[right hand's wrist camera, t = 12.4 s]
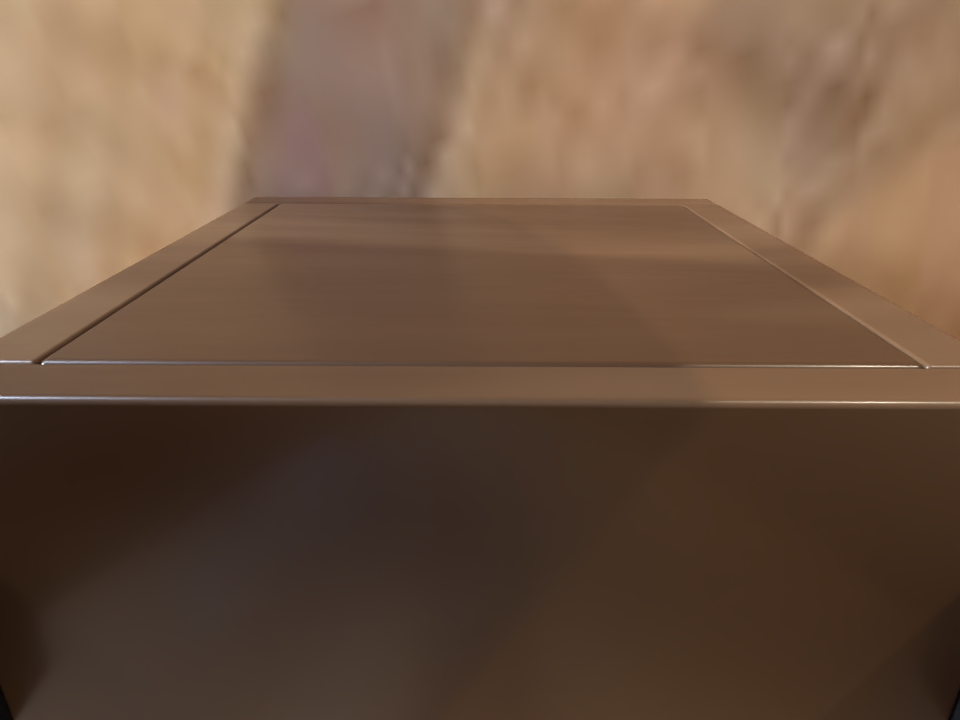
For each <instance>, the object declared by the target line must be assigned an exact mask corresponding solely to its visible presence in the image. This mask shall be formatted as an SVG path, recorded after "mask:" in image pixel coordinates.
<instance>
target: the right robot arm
mask: <svg viewBox="0 0 960 720" xmlns="http://www.w3.org/2000/svg"><path fill="white" fill-rule="evenodd" d="M0 720H12V718H11V716H10V713H9V710H8V707H7V705H6V702H5V699H4V697H3V694H2V691H1V689H0ZM949 720H960V693H959V695H958V698H957V700H956V703H955V706H954V708H953V711H952V713H951V716H950V719H949Z"/></svg>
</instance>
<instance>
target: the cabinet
mask: <svg viewBox="0 0 960 720" xmlns="http://www.w3.org/2000/svg"><path fill="white" fill-rule="evenodd" d="M0 689H1V691H2V694H3V697H4V699H5V702H6V705H7V707H8V710H9V713H10V716H11V718H12V720H949V719H950V716H951V713H952V711H953V708H954V706H955V703H956V700H957V698H958V695H959V693H960V340H958V339H956V338H954V337H953V336H951V335H949V334H947V333H945V332H944V331H942V330H940V329H938V328H937V327H935V326H933V325H931V324H929V323H928V322H926V321H924V320H922V319H921V318H919V317H917V316H915V315H913V314H912V313H910V312H908V311H906V310H904V309H903V308H901V307H899V306H897V305H896V304H894V303H892V302H890V301H888V300H887V299H885V298H883V297H881V296H879V295H878V294H876V293H874V292H872V291H871V290H869V289H867V288H865V287H863V286H862V285H860V284H858V283H856V282H854V281H853V280H851V279H849V278H847V277H846V276H844V275H842V274H840V273H838V272H837V271H835V270H833V269H831V268H829V267H828V266H826V265H824V264H822V263H821V262H819V261H817V260H815V259H813V258H812V257H810V256H808V255H806V254H804V253H803V252H801V251H799V250H797V249H796V248H794V247H792V246H790V245H788V244H787V243H785V242H783V241H781V240H779V239H778V238H776V237H774V236H772V235H771V234H769V233H767V232H765V231H763V230H762V229H760V228H758V227H756V226H754V225H753V224H751V223H749V222H747V221H746V220H744V219H742V218H740V217H738V216H737V215H735V214H733V213H731V212H729V211H728V210H726V209H724V208H722V207H721V206H718V205H716V204H715V203H713V202H711V201H709V200H707V199H551V198H347V197H255V198H253V199H251V200H250V201H248V202H246V203H244V204H242V205H240V206H239V207H237V208H235V209H233V210H231V211H230V212H228V213H226V214H224V215H222V216H221V217H219V218H217V219H215V220H213V221H211V222H210V223H208V224H206V225H204V226H202V227H201V228H199V229H197V230H195V231H193V232H192V233H190V234H188V235H186V236H184V237H182V238H181V239H179V240H177V241H175V242H173V243H172V244H170V245H168V246H166V247H164V248H163V249H161V250H159V251H157V252H155V253H154V254H152V255H150V256H148V257H146V258H144V259H143V260H141V261H139V262H137V263H135V264H134V265H132V266H130V267H128V268H126V269H125V270H123V271H121V272H119V273H117V274H115V275H114V276H112V277H110V278H108V279H106V280H105V281H103V282H101V283H99V284H97V285H96V286H94V287H92V288H90V289H88V290H86V291H85V292H83V293H81V294H79V295H77V296H76V297H74V298H72V299H70V300H68V301H67V302H65V303H63V304H61V305H59V306H58V307H56V308H54V309H52V310H50V311H48V312H47V313H45V314H43V315H41V316H39V317H38V318H36V319H34V320H32V321H30V322H29V323H27V324H25V325H23V326H21V327H19V328H18V329H16V330H14V331H12V332H10V333H9V334H7V335H5V336H3V337H1V338H0Z"/></svg>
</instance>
